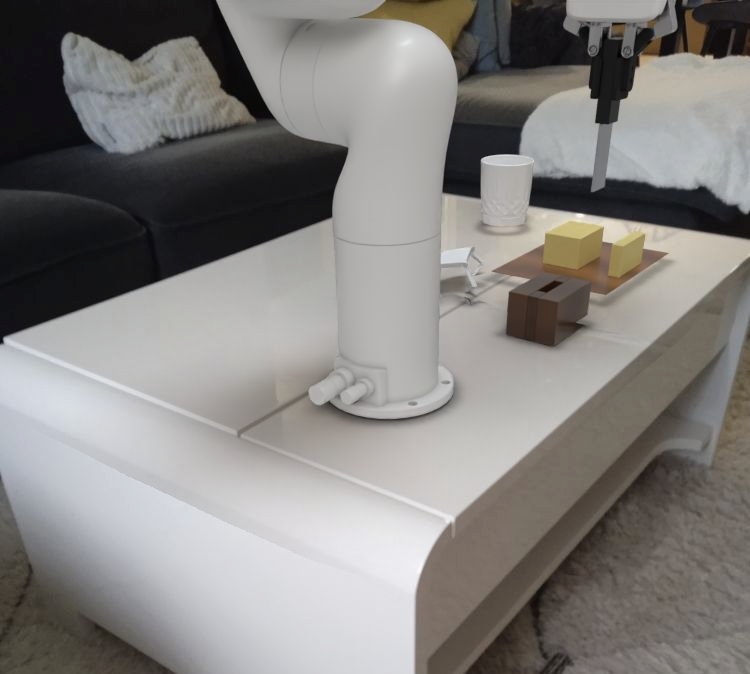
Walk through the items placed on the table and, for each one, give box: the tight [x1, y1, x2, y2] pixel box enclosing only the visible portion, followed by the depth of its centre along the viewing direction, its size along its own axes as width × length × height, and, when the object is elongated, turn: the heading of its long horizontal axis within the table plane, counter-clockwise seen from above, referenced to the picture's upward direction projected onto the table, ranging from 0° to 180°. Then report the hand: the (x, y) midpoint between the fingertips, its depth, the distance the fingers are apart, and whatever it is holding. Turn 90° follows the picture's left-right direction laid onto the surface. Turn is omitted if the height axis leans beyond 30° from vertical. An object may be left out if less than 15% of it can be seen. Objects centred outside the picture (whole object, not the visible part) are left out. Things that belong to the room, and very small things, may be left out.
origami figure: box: [440, 246, 486, 305], centre depth 103 cm, size 12×8×5 cm
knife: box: [590, 36, 624, 193], centre depth 89 cm, size 3×2×15 cm, turn 142°
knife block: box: [505, 272, 592, 347], centre depth 92 cm, size 8×6×5 cm
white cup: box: [480, 154, 535, 228], centre depth 125 cm, size 8×8×10 cm
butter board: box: [491, 241, 670, 296], centre depth 110 cm, size 20×16×1 cm
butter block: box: [543, 220, 605, 270], centre depth 109 cm, size 7×5×4 cm
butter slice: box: [608, 230, 647, 278], centre depth 105 cm, size 7×2×4 cm, turn 142°
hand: (609, 97), depth 88 cm, fingers closed on knife, 1 cm apart
